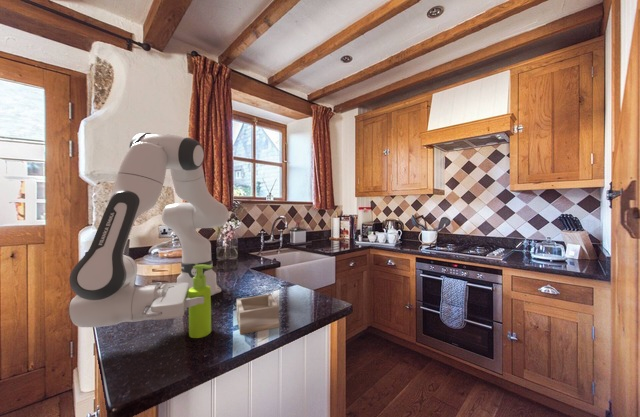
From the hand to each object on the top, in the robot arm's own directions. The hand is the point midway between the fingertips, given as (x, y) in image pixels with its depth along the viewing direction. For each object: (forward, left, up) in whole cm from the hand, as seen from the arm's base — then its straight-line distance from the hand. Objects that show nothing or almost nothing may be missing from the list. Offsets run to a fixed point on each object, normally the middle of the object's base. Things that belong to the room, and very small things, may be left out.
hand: (204, 295), depth 76 cm
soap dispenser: (0, -1, -11) cm, 11 cm away
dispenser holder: (-1, +15, -11) cm, 19 cm away
